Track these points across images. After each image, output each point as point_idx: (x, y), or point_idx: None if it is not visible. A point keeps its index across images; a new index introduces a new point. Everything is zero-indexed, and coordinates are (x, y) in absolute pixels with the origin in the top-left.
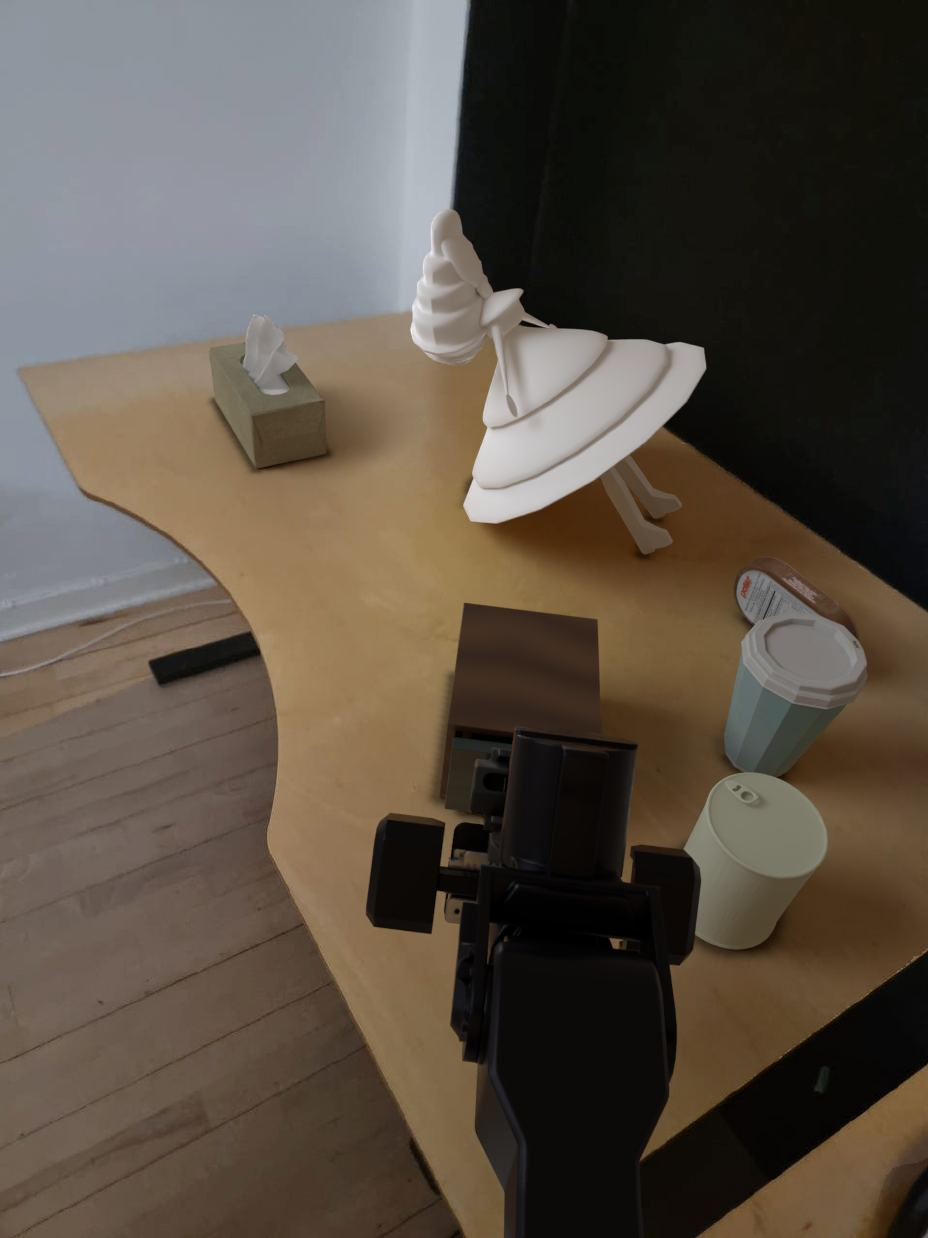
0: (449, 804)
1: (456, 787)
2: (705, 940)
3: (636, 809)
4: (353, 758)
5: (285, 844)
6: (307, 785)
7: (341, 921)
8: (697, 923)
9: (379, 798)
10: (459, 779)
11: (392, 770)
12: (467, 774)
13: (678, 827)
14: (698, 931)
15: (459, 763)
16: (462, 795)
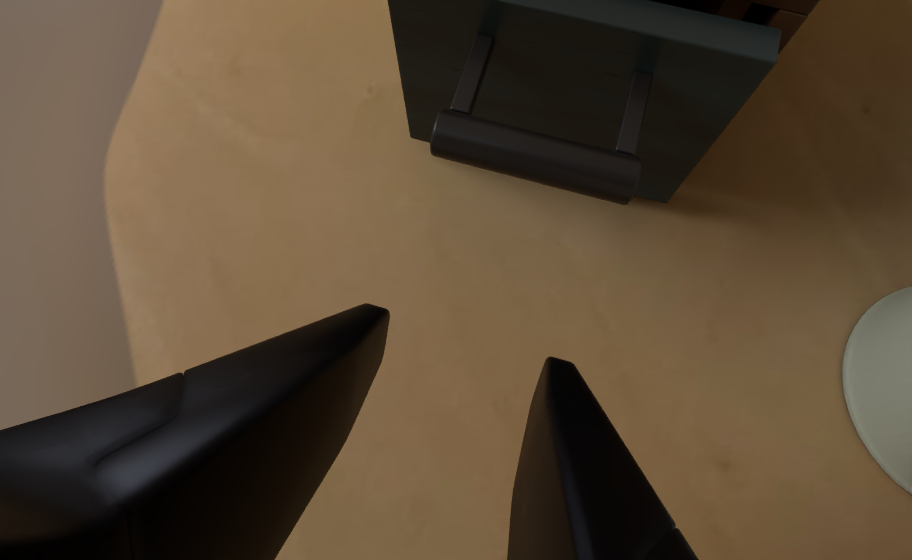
0: (417, 129)
1: (421, 93)
2: (909, 491)
3: (804, 184)
4: (272, 24)
5: (111, 168)
6: (178, 64)
7: (172, 328)
8: (909, 464)
9: (300, 103)
10: (423, 73)
11: (337, 53)
12: (437, 61)
13: (889, 233)
14: (901, 474)
15: (413, 27)
16: (437, 113)
